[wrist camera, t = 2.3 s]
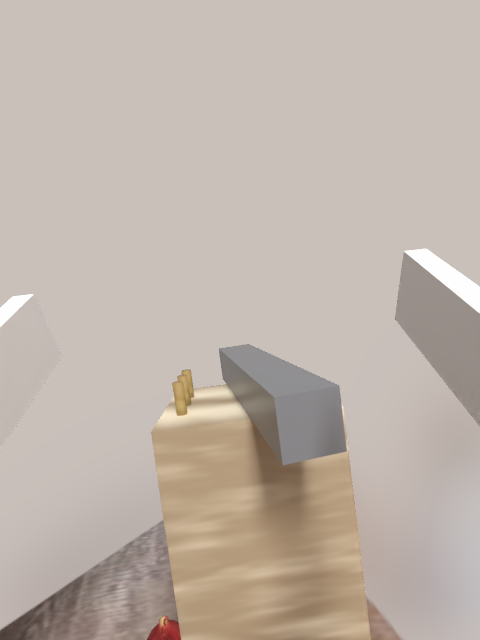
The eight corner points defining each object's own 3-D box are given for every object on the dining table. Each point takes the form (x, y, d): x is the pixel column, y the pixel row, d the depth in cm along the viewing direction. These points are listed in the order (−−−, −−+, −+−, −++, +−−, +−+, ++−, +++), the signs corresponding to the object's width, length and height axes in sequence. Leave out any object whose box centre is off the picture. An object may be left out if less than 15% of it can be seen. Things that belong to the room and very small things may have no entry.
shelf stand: (218, 685, 45) (174, 366, 43) (343, 667, 45) (304, 349, 44) (212, 856, 31) (145, 396, 29) (393, 829, 31) (338, 370, 30)
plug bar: (222, 378, 47) (218, 348, 47) (252, 373, 48) (248, 344, 48) (282, 465, 21) (274, 397, 20) (347, 451, 21) (339, 385, 21)
